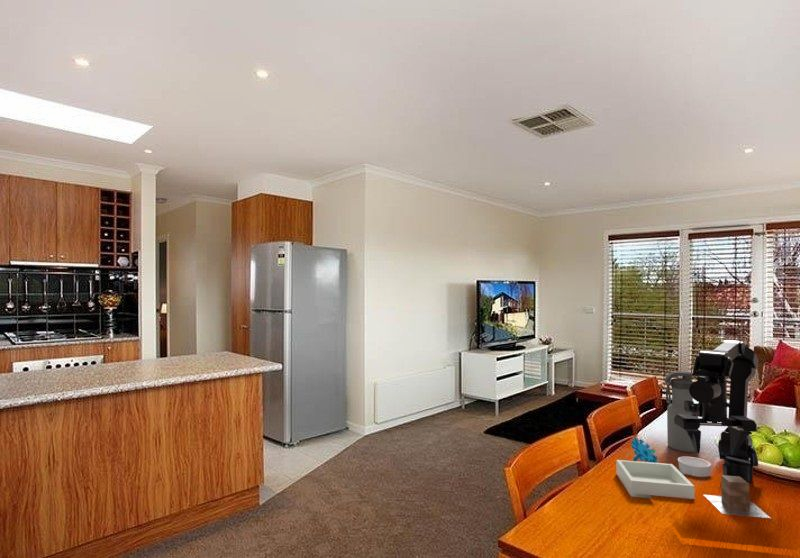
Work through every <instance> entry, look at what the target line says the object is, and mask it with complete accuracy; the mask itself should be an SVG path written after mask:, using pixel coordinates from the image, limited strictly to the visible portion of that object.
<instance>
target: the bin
mask: <svg viewBox="0 0 800 558" xmlns="http://www.w3.org/2000/svg"><path fill="white" fill-rule="evenodd" d="M616 475H617V477H618V479H619V480H620V482H621V484H622V485H623V486H624V488H625V490H627V492H628V494H629V496H630V497H631V498H639V499H640V498H643V499H652V500H654V498H653V496H654V497H655V496H657V497H669V498H679V499H680V498H681V499H688V500H689V499H690V500H695V485H694V484H693V483H692V482H691V481H690V480H689V479H688V478H687V477H686V476H685V474H682V473H681V472H680V471H679V468H677V467H676V466H675V465H674V464H673V463H663V462H662V463H661V462H658V463H652V462H647V461H637V460H636V461H634V460H624V459H623V460H622V459H616Z"/></svg>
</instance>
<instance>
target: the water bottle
mask: <svg viewBox="0 0 800 558" xmlns="http://www.w3.org/2000/svg"><path fill="white" fill-rule="evenodd" d="M692 373H693V372H691V371H680V370H679V371H678V370H675V371H670V372H669V373H668V374H666V375H665V378H664V383H665V384H666V387H665V400H666V403H667V404H668V405H667V408H666V409H667V410H666V412H667V413H666V414H667V415H666V418H667V420H666V421H667V422H666V423H667V425H666V426H667V430H666V432H667V435H666V436H667V445H668V447H669V448H670V449H673V450H675V451H679V452H684V453H696V452H695V450H694V447H693V445H692V442H691V440H690V437H689V435H688V433H687V432H686V430H684V429H683V428H681V427H680V426H678V425H676V424H675V423H674V417H675V416H676V415H677V414H689V415H691V416H692V414H691V412H685V409H684V401H693V402H694V399H693V398H692V397H691V395H690V393H689V387H690V385H691V384H692V383H693V382H694V381H693V377H694V376H693V375H692ZM675 377H676V378H675ZM693 417H695V418H699V416H697V415H696V416H693Z"/></svg>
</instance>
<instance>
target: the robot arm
mask: <svg viewBox="0 0 800 558" xmlns="http://www.w3.org/2000/svg"><path fill="white" fill-rule="evenodd" d="M695 357H696V358H695V361H694V365H693V369H692V372H691V373H692V375H693V376H692V377H697V379H696V380H694V381H693V383H692V384H691V385H690V387H689V393H690V395H691V397H692V398H693V401H684V409H685V412H691V414H692V416H691V415H689V414H677V415H676V416H675V417H674V423H675V424H676V425H678V426H680V427H681V428H683V429H684V430H686V432H687V433H688V435H689V437H690V440H691V442H692V445H693V447H694V450H695V452H694V453H696V454H698V455H699V454H700V451H701V439H702V431H701V430H700V427H701V426H703V427H704V426H708V427H726V428H725V429H724V430H722V431H721V433H720V438H719V440H718V443H717V449H718V454H719V455H718V456H719V459H720V460H724V463H722V475H726V476H739V477H741V478H742V479H744V480H745V481H746V482H748V483H750V482H751V483H753V482H754V474H753V473H754V472H753V471H754V467H759V458H758V454H757V451H756V449H755V446H754V445H753V444H754V443H753V442H754V441H753V439H752V436H750V435H752V434H753V433H754V432H758V425H757V422H756V421H755V420H754V419H752V418H749V417H748V399H749V382H750V381H751V380H752V379H753V378H754V377H755V376H756V374H757V373H756V371H757V369H758V368H759V358H758V356H757V353H756V351H754V350H753V349H752V348H750V347H749V346H746V344H745V342H744V341H741V340H733V339H726V340H723V341H722V343H721V344H719V345H718V346H717V347H715V348H714V349H703V350H700V351H699V352H698V353H697V354H696V356H695ZM728 378H729V380H730V381H729V383H730V384H729V397H728V391H727V390H728V388H727V383H728V382H727V380H728ZM727 397H728V398H729V399H728V398H727ZM694 401H696V402H697V403H695V402H694ZM728 401H729V402H728ZM696 415H697V416H698V418H695V417H693V416H696Z"/></svg>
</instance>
